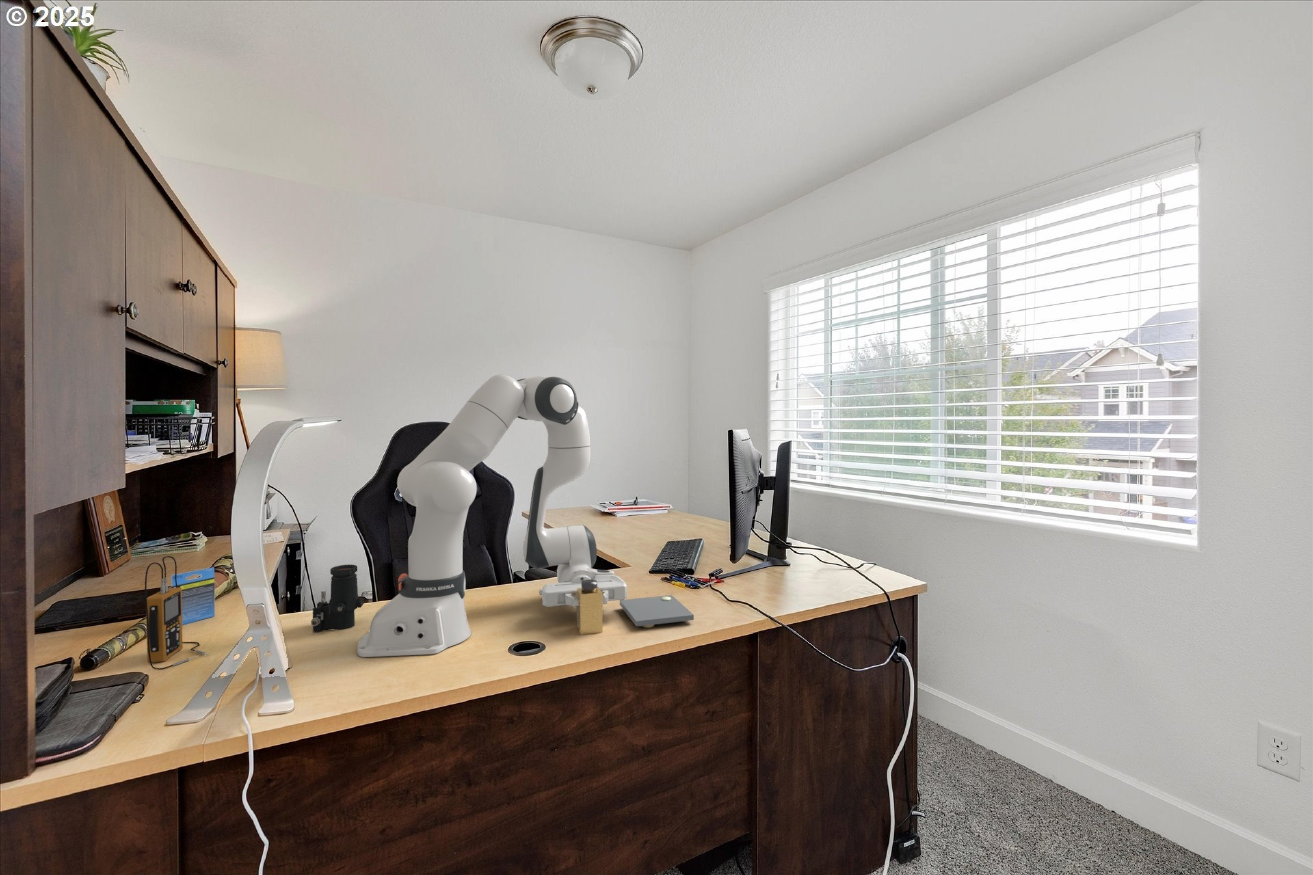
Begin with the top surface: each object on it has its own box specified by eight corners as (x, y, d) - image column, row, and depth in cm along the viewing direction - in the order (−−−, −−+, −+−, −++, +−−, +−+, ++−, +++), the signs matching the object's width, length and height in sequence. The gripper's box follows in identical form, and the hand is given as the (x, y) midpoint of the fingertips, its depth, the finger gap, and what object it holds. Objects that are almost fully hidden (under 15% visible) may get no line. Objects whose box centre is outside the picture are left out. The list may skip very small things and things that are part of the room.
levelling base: (636, 630, 127) (636, 619, 127) (619, 608, 142) (619, 598, 142) (693, 624, 131) (693, 613, 131) (671, 603, 146) (671, 593, 146)
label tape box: (206, 614, 138) (206, 564, 138) (216, 616, 136) (215, 566, 136) (163, 625, 130) (162, 573, 130) (172, 628, 128) (170, 575, 128)
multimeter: (198, 666, 108) (196, 563, 108) (135, 672, 105) (132, 567, 105) (231, 638, 122) (230, 547, 122) (177, 643, 120) (175, 550, 119)
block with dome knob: (580, 634, 124) (580, 585, 124) (576, 626, 129) (576, 579, 129) (602, 632, 126) (602, 583, 126) (598, 624, 131) (597, 577, 130)
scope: (319, 564, 132) (366, 561, 134) (320, 622, 132) (367, 618, 135) (308, 573, 124) (358, 570, 126) (309, 635, 124) (359, 630, 127)
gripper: (537, 576, 137) (543, 592, 123) (619, 569, 143) (632, 584, 130) (537, 601, 137) (543, 620, 124) (619, 594, 143) (633, 611, 130)
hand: (590, 602), depth 127 cm, fingers closed on block with dome knob, 5 cm apart
